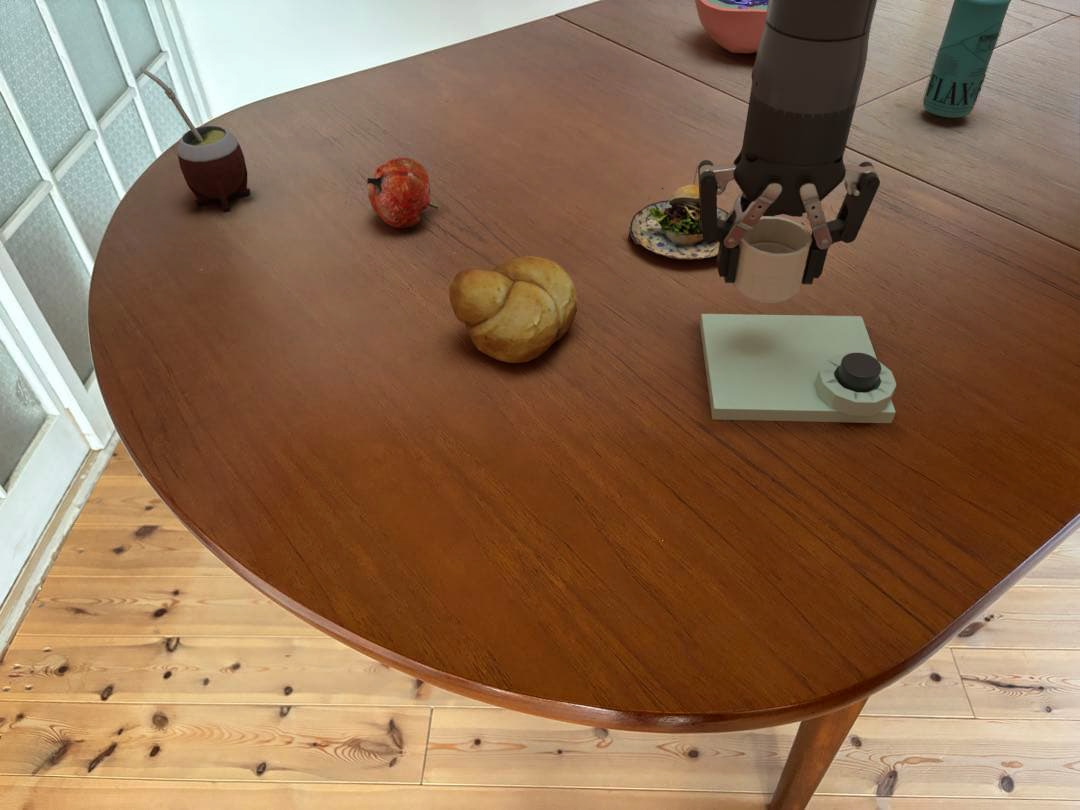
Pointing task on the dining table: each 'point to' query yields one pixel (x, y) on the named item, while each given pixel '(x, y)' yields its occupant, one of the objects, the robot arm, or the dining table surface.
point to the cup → (772, 260)
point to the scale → (789, 369)
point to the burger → (675, 226)
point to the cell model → (734, 22)
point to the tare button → (859, 372)
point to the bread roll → (515, 307)
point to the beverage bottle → (964, 56)
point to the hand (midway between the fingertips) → (767, 277)
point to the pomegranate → (400, 192)
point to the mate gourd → (209, 159)
